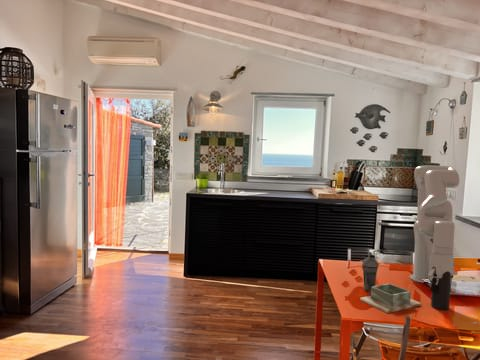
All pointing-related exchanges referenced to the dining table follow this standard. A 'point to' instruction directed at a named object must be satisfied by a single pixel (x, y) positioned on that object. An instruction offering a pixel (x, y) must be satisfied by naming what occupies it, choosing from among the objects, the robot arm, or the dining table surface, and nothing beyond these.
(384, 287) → the bottle caddy
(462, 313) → the dining table surface
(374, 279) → the beverage cup
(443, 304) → the vinegar
